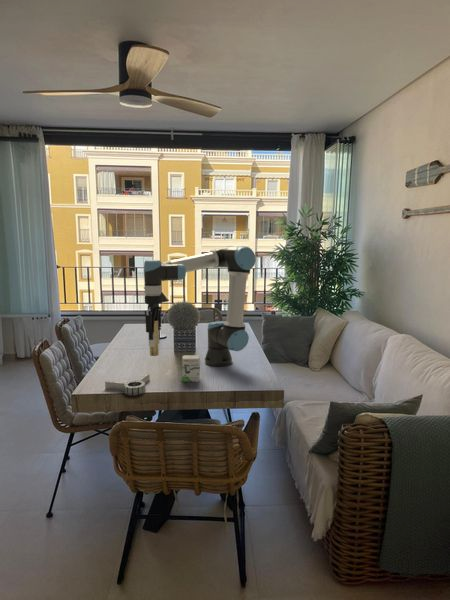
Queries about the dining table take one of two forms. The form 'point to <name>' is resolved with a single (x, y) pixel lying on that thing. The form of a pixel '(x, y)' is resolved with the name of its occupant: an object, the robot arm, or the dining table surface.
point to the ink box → (190, 368)
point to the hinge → (129, 386)
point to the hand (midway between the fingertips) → (154, 344)
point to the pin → (155, 350)
